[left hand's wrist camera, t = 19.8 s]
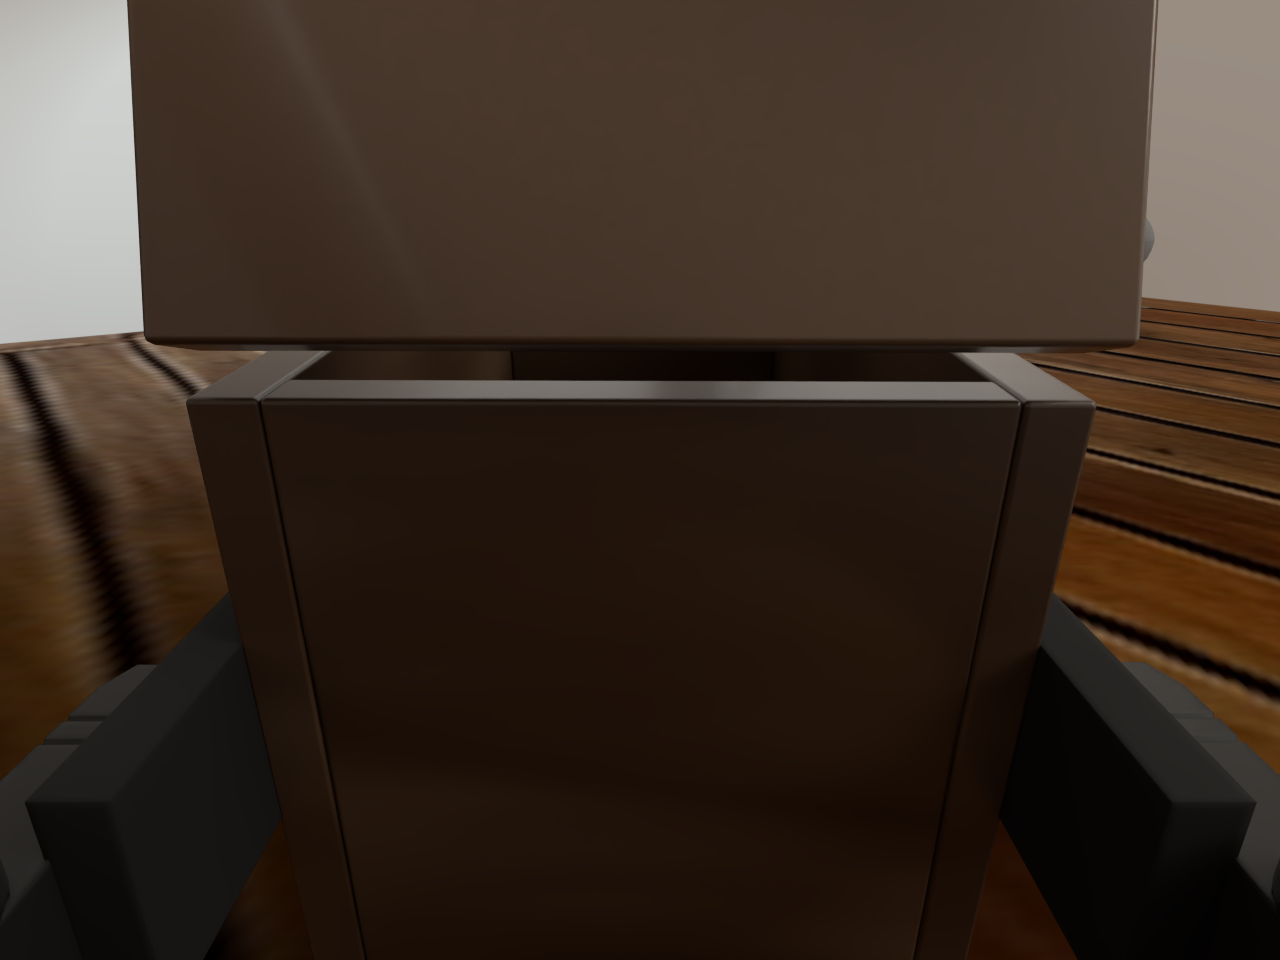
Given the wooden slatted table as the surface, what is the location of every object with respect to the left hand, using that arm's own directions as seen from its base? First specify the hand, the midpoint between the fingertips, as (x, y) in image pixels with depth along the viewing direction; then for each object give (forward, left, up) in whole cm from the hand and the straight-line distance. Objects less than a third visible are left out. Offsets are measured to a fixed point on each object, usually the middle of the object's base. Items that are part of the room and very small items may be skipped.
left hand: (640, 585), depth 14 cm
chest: (-4, +3, -6) cm, 8 cm away
